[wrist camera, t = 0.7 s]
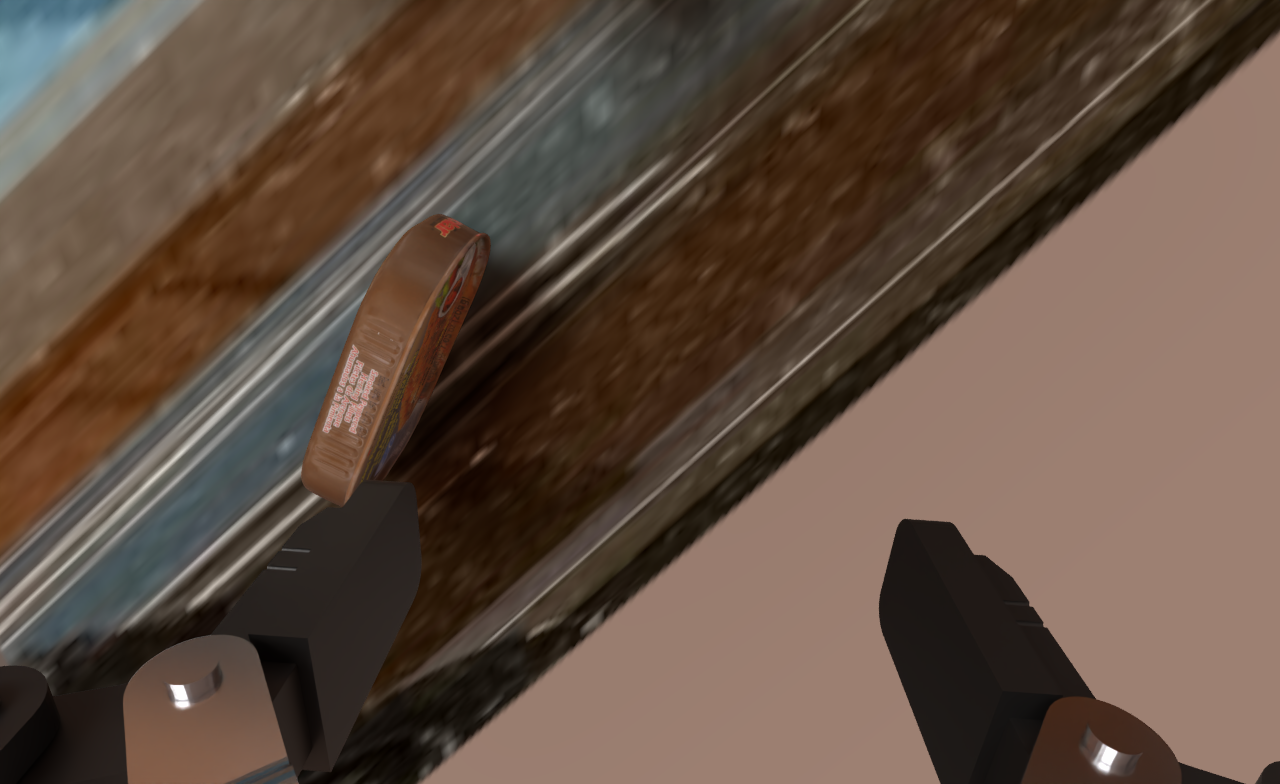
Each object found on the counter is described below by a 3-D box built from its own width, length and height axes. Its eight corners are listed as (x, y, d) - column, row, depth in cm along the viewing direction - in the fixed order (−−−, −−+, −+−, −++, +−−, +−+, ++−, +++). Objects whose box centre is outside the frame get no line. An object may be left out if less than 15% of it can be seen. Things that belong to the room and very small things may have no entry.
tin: (401, 461, 40) (340, 553, 32) (348, 437, 39) (272, 525, 31) (508, 221, 34) (465, 263, 26) (447, 190, 34) (386, 223, 26)
